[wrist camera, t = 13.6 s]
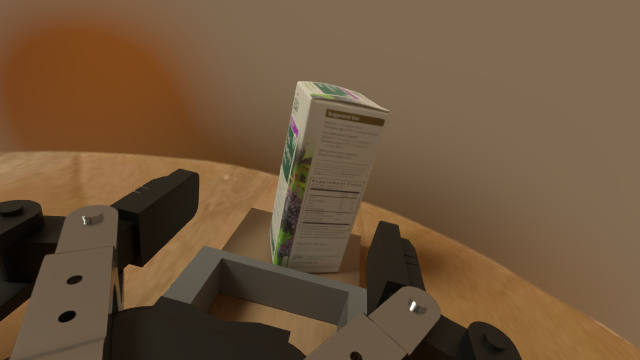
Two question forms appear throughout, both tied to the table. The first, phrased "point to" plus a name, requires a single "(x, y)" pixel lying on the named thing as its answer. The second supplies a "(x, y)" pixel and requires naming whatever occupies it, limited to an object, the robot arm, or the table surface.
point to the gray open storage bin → (266, 287)
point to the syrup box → (323, 175)
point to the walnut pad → (256, 245)
